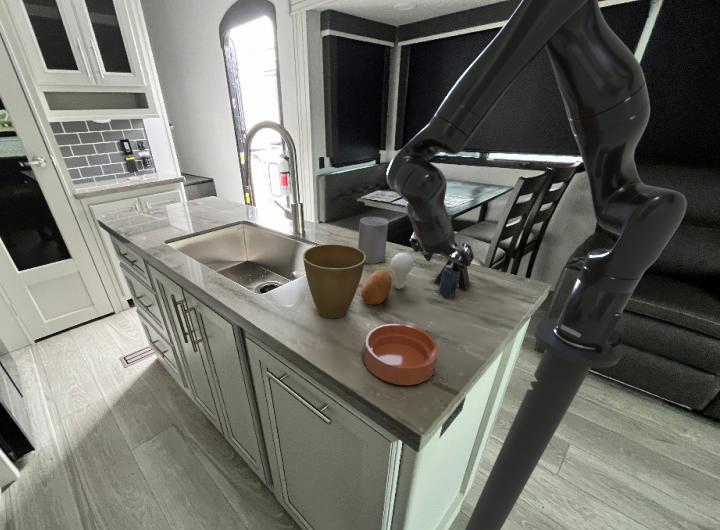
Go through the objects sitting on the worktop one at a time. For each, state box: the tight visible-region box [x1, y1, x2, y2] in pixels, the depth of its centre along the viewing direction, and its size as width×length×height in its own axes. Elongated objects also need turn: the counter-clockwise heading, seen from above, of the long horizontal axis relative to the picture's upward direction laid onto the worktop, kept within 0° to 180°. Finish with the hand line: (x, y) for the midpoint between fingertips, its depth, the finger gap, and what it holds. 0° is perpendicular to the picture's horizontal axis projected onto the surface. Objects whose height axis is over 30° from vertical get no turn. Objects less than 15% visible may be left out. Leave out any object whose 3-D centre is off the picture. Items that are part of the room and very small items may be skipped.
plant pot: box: [302, 243, 366, 320], centre depth 80 cm, size 15×15×16 cm
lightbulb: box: [390, 252, 414, 290], centre depth 93 cm, size 6×6×11 cm
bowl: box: [363, 323, 440, 386], centre depth 66 cm, size 14×14×5 cm
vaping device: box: [438, 256, 461, 299], centre depth 89 cm, size 3×5×12 cm, turn 22°
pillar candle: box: [357, 216, 389, 265], centre depth 111 cm, size 10×10×15 cm
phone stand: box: [434, 241, 470, 291], centre depth 95 cm, size 9×6×12 cm, turn 58°
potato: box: [360, 269, 393, 306], centre depth 89 cm, size 7×13×7 cm, turn 153°
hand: (445, 262), depth 82 cm, fingers open, 8 cm apart
